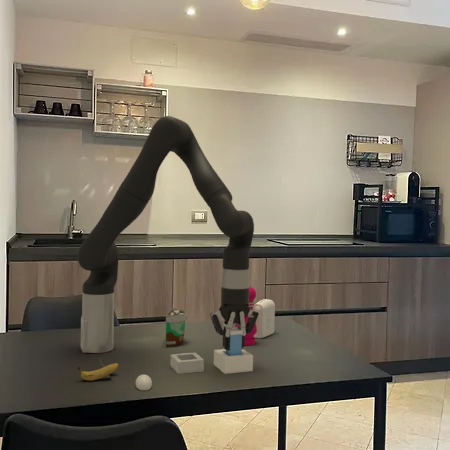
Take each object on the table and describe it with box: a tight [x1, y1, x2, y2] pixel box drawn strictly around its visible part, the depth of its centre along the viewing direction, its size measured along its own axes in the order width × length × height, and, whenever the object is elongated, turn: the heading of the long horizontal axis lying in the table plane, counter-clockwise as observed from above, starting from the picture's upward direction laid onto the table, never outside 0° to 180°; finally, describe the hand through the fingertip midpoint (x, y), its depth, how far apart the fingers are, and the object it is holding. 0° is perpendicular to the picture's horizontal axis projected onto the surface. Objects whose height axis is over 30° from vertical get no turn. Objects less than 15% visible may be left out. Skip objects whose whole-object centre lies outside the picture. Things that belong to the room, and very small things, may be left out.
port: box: [213, 348, 254, 375], centre depth 142 cm, size 8×8×5 cm
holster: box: [169, 352, 205, 375], centre depth 140 cm, size 7×7×4 cm
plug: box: [226, 327, 242, 356], centre depth 142 cm, size 3×3×9 cm
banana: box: [77, 362, 120, 382], centre depth 132 cm, size 10×2×4 cm, turn 108°
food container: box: [165, 307, 189, 348], centre depth 168 cm, size 12×6×10 cm, turn 179°
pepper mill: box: [234, 282, 257, 346], centre depth 170 cm, size 7×7×20 cm
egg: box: [135, 374, 153, 392], centre depth 126 cm, size 4×6×4 cm, turn 16°
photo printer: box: [253, 298, 276, 339], centre depth 181 cm, size 10×4×12 cm, turn 148°
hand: (233, 349), depth 142 cm, fingers closed on plug, 3 cm apart
